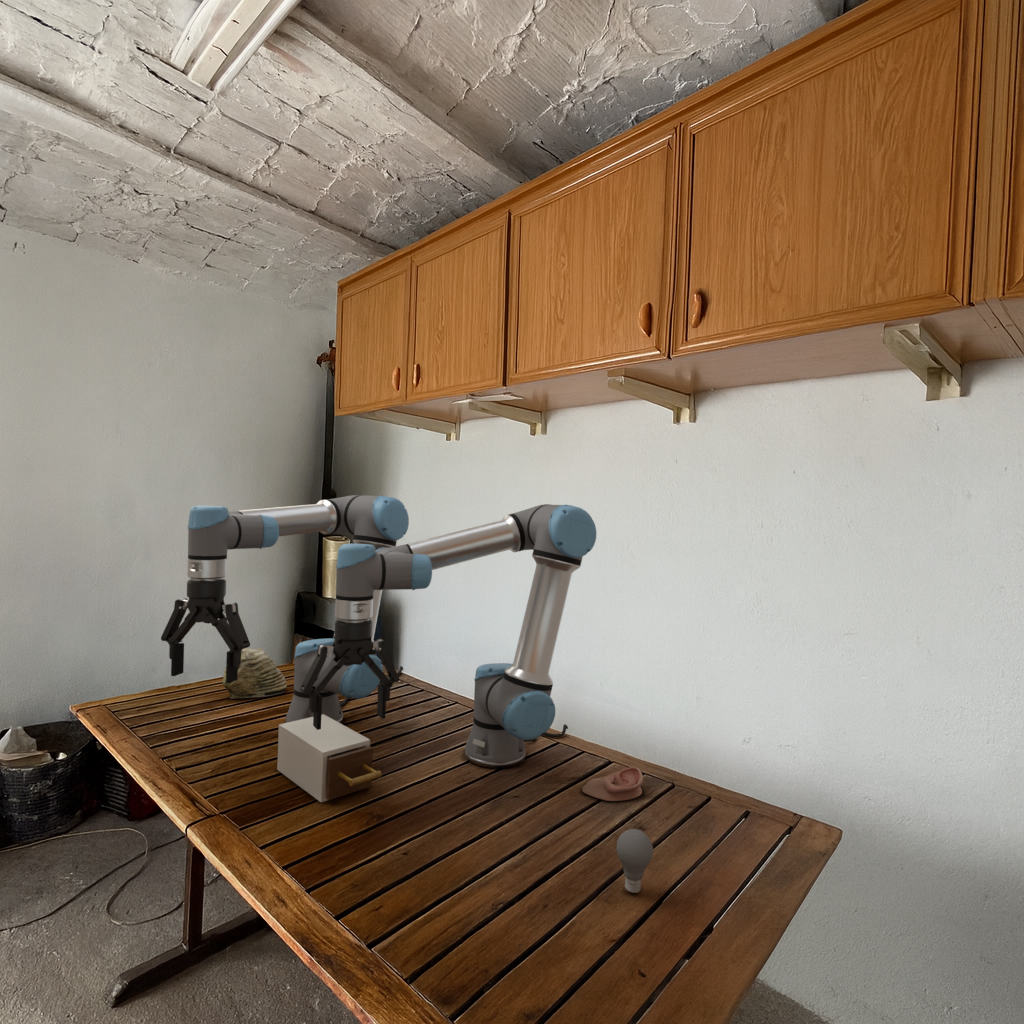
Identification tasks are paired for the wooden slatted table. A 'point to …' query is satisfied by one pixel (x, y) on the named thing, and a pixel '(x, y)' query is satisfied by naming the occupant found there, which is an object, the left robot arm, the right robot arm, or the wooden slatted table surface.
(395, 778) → the wooden slatted table surface
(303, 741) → the cabinet
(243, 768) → the wooden slatted table surface
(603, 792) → the anatomical model
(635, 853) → the light bulb
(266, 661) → the fossil
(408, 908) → the wooden slatted table surface
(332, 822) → the wooden slatted table surface
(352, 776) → the drawer
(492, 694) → the right robot arm
